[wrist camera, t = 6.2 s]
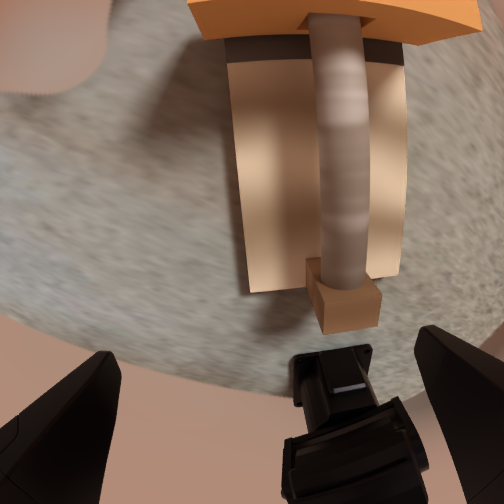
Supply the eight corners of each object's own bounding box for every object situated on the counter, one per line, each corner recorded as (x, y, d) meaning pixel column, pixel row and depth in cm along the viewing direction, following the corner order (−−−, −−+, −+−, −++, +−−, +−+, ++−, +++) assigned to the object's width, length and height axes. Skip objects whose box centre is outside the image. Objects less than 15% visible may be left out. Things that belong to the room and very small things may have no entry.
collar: (418, 45, 13) (482, 31, 8) (204, 40, 13) (187, 3, 8) (414, 16, 12) (474, -7, 7) (201, 7, 12) (184, -40, 7)
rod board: (390, 267, 21) (431, 315, 15) (249, 283, 21) (254, 343, 15) (380, -21, 12) (427, -55, 7) (218, -28, 12) (212, -78, 7)
